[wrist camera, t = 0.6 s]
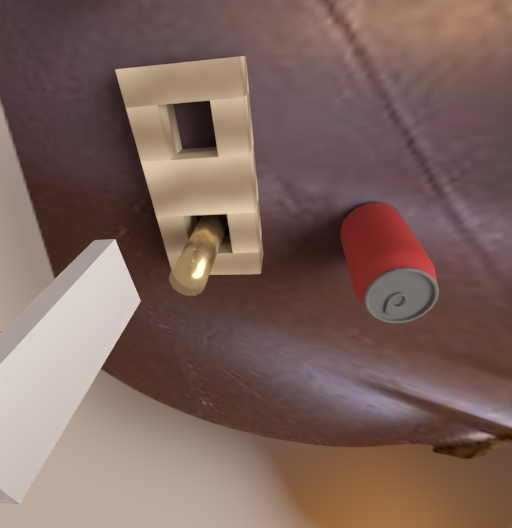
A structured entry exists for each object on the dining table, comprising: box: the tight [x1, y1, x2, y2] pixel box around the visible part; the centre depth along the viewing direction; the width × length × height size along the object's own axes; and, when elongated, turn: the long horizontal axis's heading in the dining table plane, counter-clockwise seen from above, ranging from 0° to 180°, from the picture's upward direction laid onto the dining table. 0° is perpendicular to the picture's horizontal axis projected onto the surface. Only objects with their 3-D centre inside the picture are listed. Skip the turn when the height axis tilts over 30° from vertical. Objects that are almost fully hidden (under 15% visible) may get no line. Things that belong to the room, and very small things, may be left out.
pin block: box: [115, 56, 263, 275], centre depth 32 cm, size 20×10×4 cm, turn 5°
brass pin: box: [169, 214, 228, 296], centre depth 31 cm, size 3×3×12 cm
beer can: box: [340, 203, 439, 323], centre depth 30 cm, size 7×7×12 cm
